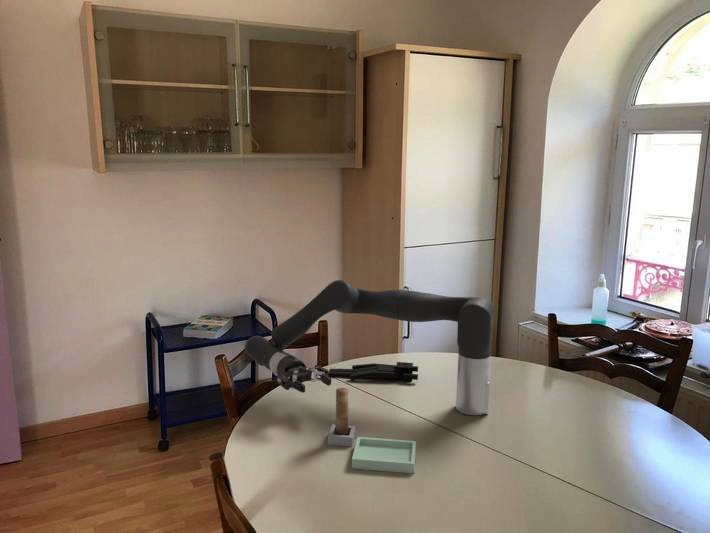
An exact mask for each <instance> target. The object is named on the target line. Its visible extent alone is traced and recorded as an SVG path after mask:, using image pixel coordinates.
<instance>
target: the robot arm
mask: <svg viewBox="0 0 710 533" xmlns="http://www.w3.org/2000/svg"><path fill="white" fill-rule="evenodd" d="M333 311H337V312H339V313H342V314H364V315H365V314H366V315H374V316H377V317H378V316H379V317H383V318H387V319H392V320H396V321H397V320H398V321H404V322H411V323H427V322H429V323H430V322H436V321H437V322H438V321H450V322H456V323H457V332H456V333H457V339H456V342H457V348H458V350H457V351H458V352H457V353H458V354H457V371H456V373H457V374H456V376H457V377H456V391H455V395H456V396H455V409H456V410H457V411H458V412H459V413H461V414H464V415H466V416H481V415H488V414H489V404H490V386H491V385H490V384H491V383H490V371H491V370H490V369H491V354H492V347H491V343H490V342H491V324H492V323H493V321H494V319H495V316H496V311H495V307H494V305H493V303H491V301H489V300H487V299H485V298H483V297H478V296H477V297H473V296H469V297H468V296H448V295H440V294H434V293H431V292H430V293H428V292H421V291H414V290H407V289H388V290H387V289H386V290H382V291H379V290H378V291H374V290H373V291H372V290H367V289H361V288H358V287H355V286H353V285H351V284H350V283H349V282H347V281H345V280H342V279H337V280H334V281H332V282H330V283H328V285H327V286H325V287H324V289H322V290H321V291H320V292H319V293H318V294H317V295H316V296H315V297H314V298H313V299H312V300H310V301H309V302H308V303H307V304H306V305H305V306H303V307H302V308H301V309H300V310H299V311H298V312H296V313H294V314H293V315H292V316H290V317H289V318H287V319H286V320H284V321H283V322H281V323H280V324H278V325H277V326H276V327H274V328H273V329H272V330H271V332H270V335H271V339H272V340H273V342H272V343H271V342H270V341H269V340H267V339H266V338H265V337H263V336H261V335H253V336H250V337H249V338H248V339H247V340H246V342H245V344H244V351H245V353H246V354H247V355H248V356H249V357H250V358H251V359H253V361H254V362H255V363H256V364H258V365H259V366H261V367H264V368H266V369H267V370H268V371H271V373H273V375H275V376H276V377H277V384H278V385H279V386H280V387H282V388H283V389H284V390H286V391H288V390H290V389H292V390H296V391H297V392H300V393H301V394H303V393H305V392H306V385H305V384H304V382H310V383H311V382H312V383H316V382H322V383H323V384H324V385H326V386H327V387H329V386H331V385H332V377H329V376H328V373H329V370H330V369H326V368H324V367H322V366H321V365H319V364H315V365H314V367H313V368H311V367H307V366H306V365H305V362H304V361H303V360H301V359H300V358H297V357H296V356H294V355H292V354H291V353H289V352H285V351H284V350H285V349H286V348H287V347H289V346H290V345H291V344H292V343H294V342H296V341H297V340H299V339H300V338H302V336H304V335H306V333H307V332H308V331H309V330H310V329H311V328H312V326H313V325H314V324H315V323H316V322H317V321H318V320H319V319H321V318H322V317H324V316H326V315H327V314H329V313H331V312H333ZM312 375H313V377H312ZM318 376H319V377H318Z"/></svg>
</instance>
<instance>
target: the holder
mask: <svg viewBox="0 0 710 533" xmlns="http://www.w3.org/2000/svg"><path fill="white" fill-rule="evenodd" d="M356 427H357V426H356V425H348V436H347V435H336V424H332V425H331V427H330V430H329V432H328V435H327V445H329V446H338V447H353V446H354V442H355V439H356V435H357V432H356V431H357V430H356V429H357V428H356Z"/></svg>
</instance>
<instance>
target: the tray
mask: <svg viewBox="0 0 710 533" xmlns="http://www.w3.org/2000/svg"><path fill="white" fill-rule="evenodd" d="M416 449H417V440H406V439H404V440H403V439H395V438H394V439H393V438H392V439H391V438H379V437H378V438H377V437H367V436H365V437H364V436H363V437H362V436H357V438H356V442H355V446H354V449H353V454H352V458H351V469H355V470H368V471H370V470H371V471H380V472H393V473H402V474H403V473H406V474H415V466H416V453H417V450H416Z"/></svg>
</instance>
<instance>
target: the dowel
mask: <svg viewBox="0 0 710 533" xmlns="http://www.w3.org/2000/svg"><path fill="white" fill-rule="evenodd" d="M335 425H336V435H347V436H348V426H349V389H348V388H347V387H338V388H336V389H335Z"/></svg>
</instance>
